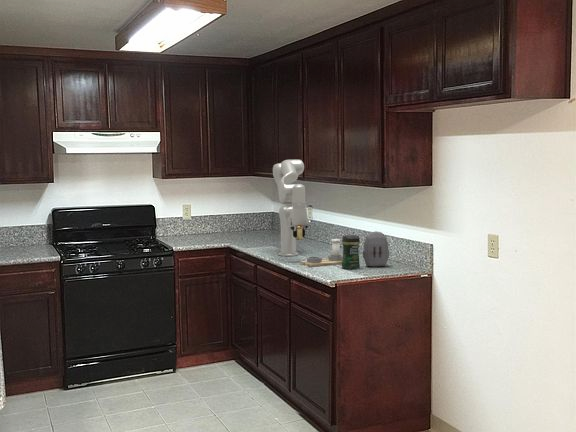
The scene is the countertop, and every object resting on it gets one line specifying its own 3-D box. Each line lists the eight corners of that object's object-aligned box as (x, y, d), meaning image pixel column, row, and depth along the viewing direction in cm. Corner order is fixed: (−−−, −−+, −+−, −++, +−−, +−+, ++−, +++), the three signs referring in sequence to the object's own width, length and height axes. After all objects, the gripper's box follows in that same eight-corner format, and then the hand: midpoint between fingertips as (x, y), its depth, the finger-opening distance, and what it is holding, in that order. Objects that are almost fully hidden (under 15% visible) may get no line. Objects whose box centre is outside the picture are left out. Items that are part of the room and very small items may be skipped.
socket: (305, 261, 375) (305, 257, 375) (317, 260, 379) (317, 256, 378) (311, 263, 368) (310, 259, 368) (323, 262, 371) (323, 258, 371)
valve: (293, 239, 381) (293, 224, 380) (301, 238, 383) (301, 224, 382) (297, 240, 376) (297, 225, 375) (305, 239, 378) (305, 225, 377)
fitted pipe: (326, 259, 381) (326, 239, 380) (338, 258, 384) (338, 238, 383) (332, 261, 374) (332, 240, 372) (345, 260, 377) (345, 239, 376)
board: (299, 263, 378) (299, 261, 377) (336, 260, 387) (336, 257, 387) (310, 267, 365) (310, 264, 365) (347, 263, 374) (347, 261, 374)
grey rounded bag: (388, 265, 369) (388, 230, 367) (390, 267, 360) (390, 232, 359) (361, 265, 368) (361, 230, 366) (363, 268, 360) (363, 232, 358)
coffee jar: (346, 270, 355) (345, 236, 353) (340, 267, 362) (339, 234, 361) (361, 268, 358) (361, 235, 357) (355, 266, 366) (355, 233, 364)
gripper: (309, 205, 385) (309, 235, 387) (282, 206, 378) (283, 237, 380) (314, 206, 378) (314, 237, 380) (287, 207, 371) (288, 238, 373)
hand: (299, 236), depth 380 cm, fingers closed on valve, 4 cm apart
